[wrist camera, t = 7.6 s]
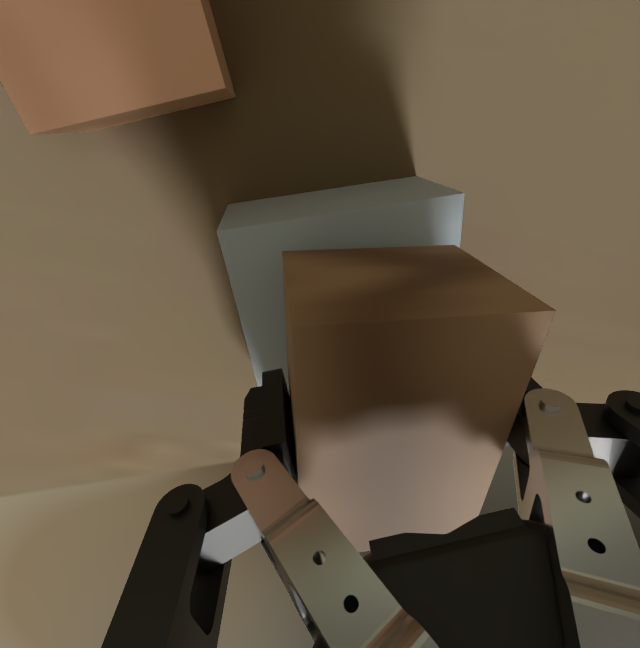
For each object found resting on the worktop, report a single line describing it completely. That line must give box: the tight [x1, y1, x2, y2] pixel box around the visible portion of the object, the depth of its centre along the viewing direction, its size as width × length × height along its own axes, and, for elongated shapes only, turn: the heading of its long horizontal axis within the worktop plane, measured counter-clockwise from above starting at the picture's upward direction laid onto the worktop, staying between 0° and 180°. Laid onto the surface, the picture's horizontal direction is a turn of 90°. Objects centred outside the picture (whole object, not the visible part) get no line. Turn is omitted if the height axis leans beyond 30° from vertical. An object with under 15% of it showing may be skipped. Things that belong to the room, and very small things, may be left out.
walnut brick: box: [282, 245, 556, 552], centre depth 12 cm, size 6×9×5 cm, turn 0°
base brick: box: [216, 176, 465, 392], centre depth 17 cm, size 9×11×5 cm
